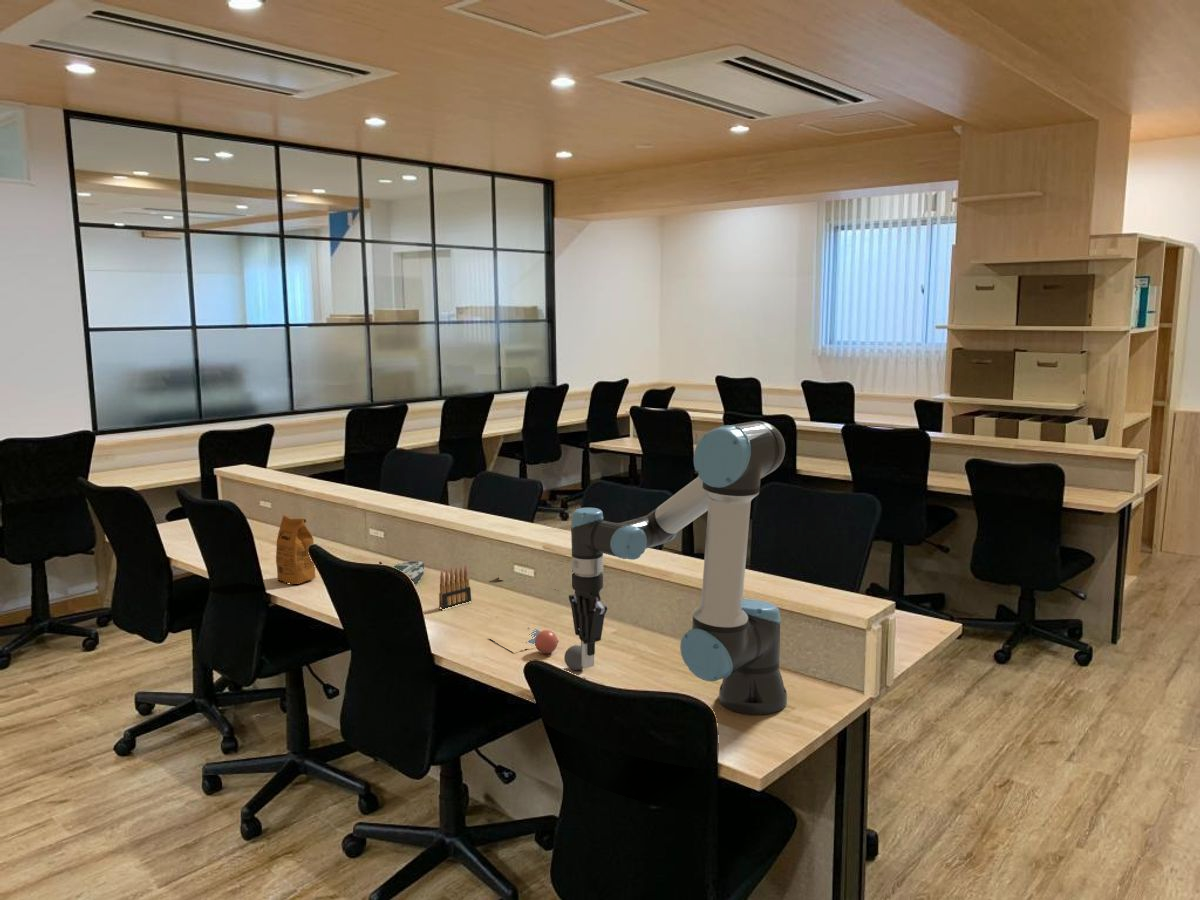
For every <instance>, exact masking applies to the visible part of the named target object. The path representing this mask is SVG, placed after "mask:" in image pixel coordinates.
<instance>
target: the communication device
mask: <svg viewBox="0 0 1200 900" xmlns="http://www.w3.org/2000/svg"><path fill="white" fill-rule="evenodd" d="M378 563H379V565H380V564H383V563H382V562H381V561H379V562H378ZM392 567H395V568H397V569H399V570H401V571H403V572H404V573H406V574H407V575H408V576H409V577H410V578H411V580H412V581H413V582H414V584H416V583H418V581H419V580H420V581H421V577H423V576H424V572H425V563H424V562H423V561H419V560H409V561H404V562H402V563H395V564H394V565H393V566H392ZM418 584H419V583H418ZM416 585H417V584H416Z"/></svg>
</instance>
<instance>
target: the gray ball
mask: <svg viewBox="0 0 1200 900" xmlns="http://www.w3.org/2000/svg"><path fill="white" fill-rule="evenodd" d="M564 664H565V665H566V666H567V667H568V668H569V669H571V670H574V671H580V670H582V669H584V668H583V667H582V652H581V645H577V644H574V645H571V646H570V647H568V648H567V650H566V651H565V653H564Z"/></svg>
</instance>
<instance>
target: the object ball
mask: <svg viewBox="0 0 1200 900" xmlns="http://www.w3.org/2000/svg"><path fill="white" fill-rule="evenodd" d="M558 641H559V639H558V636H557V635H556V634H555V633H554V631H552V630H548V629H545V630H541V631H540V632H539V633H538V634H537V636H536V638H535V646H536V649H537V651H538V652H540V653H541V654H546V655H547V654H552V653H553V652H554V651H555V650H556V649H557V647H558V643H559V642H558Z"/></svg>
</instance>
